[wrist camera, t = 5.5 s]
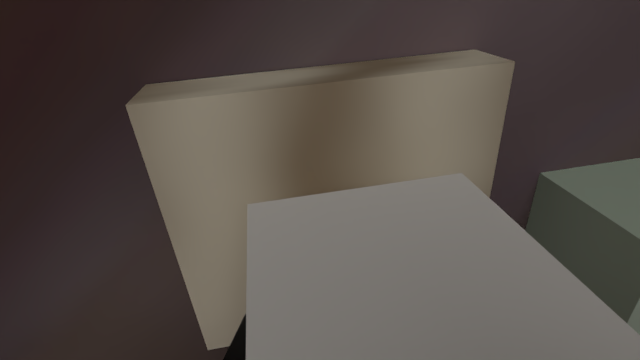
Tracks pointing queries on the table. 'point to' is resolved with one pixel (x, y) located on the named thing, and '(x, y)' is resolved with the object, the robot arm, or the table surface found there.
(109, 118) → the table surface
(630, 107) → the table surface
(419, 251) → the white block
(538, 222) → the sage block
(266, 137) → the slab
